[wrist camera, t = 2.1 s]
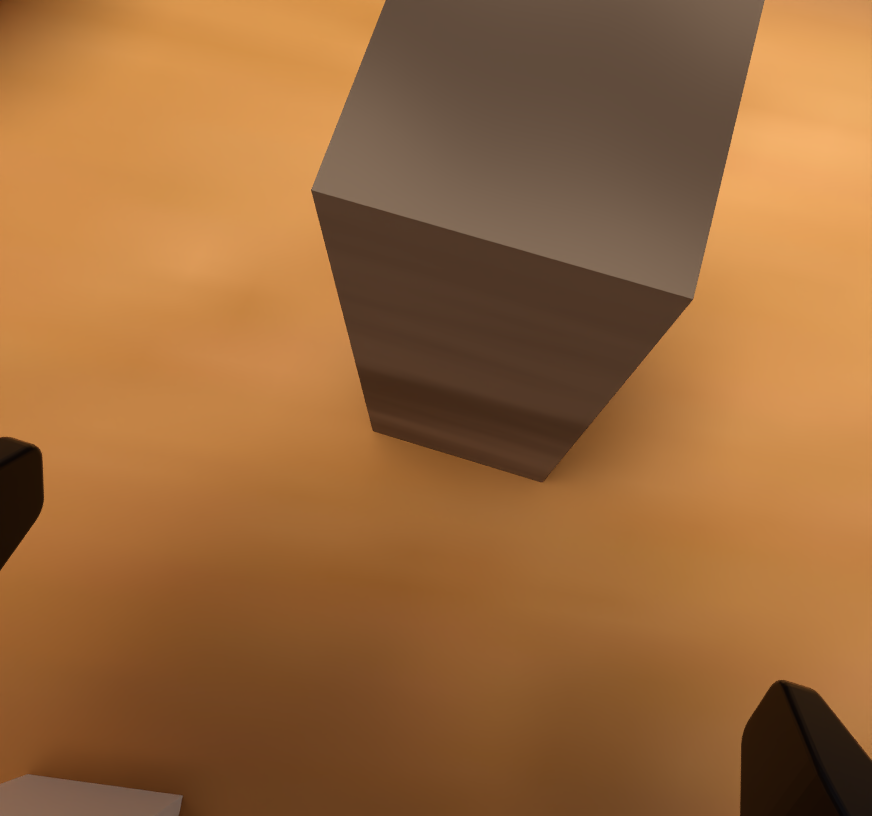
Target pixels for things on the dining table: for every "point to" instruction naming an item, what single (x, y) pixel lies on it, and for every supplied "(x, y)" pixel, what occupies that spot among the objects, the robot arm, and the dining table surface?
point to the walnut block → (524, 208)
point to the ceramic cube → (81, 799)
